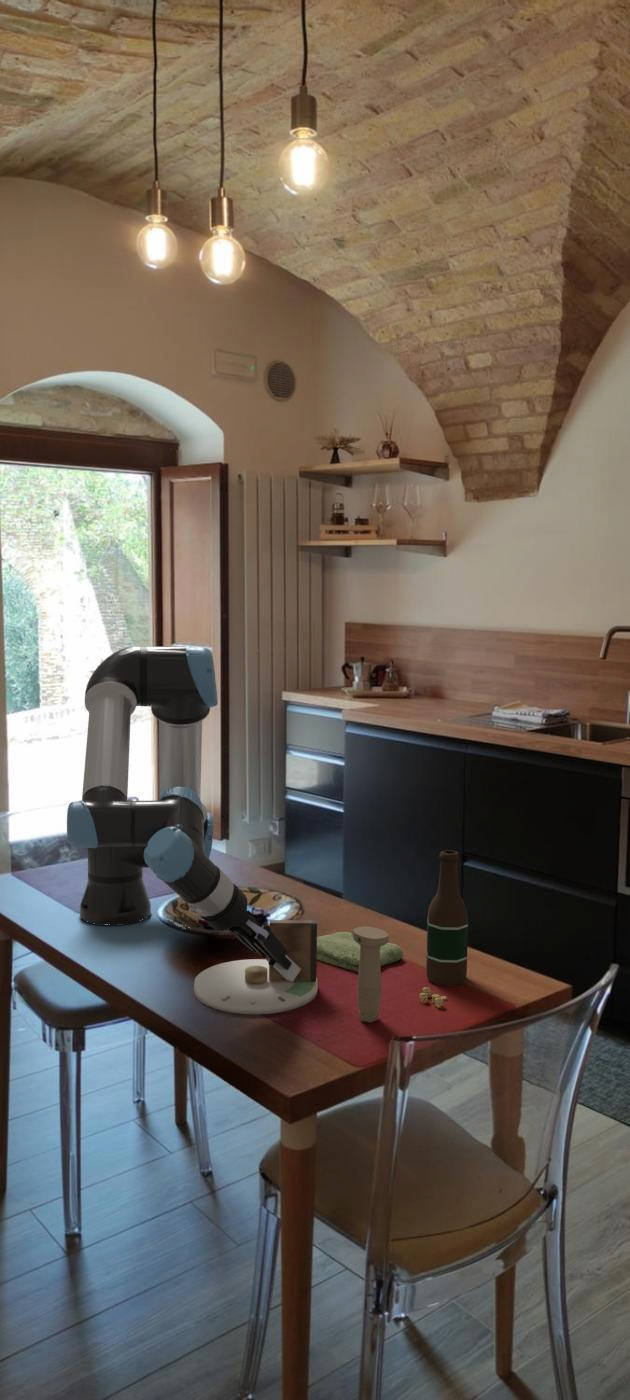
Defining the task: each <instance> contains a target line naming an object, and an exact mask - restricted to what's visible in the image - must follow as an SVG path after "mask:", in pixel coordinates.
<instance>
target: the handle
mask: <svg viewBox="0 0 630 1400" xmlns="http://www.w3.org/2000/svg"><path fill="white" fill-rule="evenodd" d="M352 934H353V938H354V940H355V941H356V942H357V943H358V944H359V945H360V962H359V972H358V976H357V977H358V978H357V1006H358V1015H359V1016H358V1017H359V1019H360V1021H361V1022H362V1023H365V1022H366V1023H370V1024H371V1023H373V1022H377V1021H378V1019H379V1013H378V1012H379V1010H380V1006H381V998H382V975H381V974H382V973H381V972H382V971H381V970H382V969H381V967H380V947H381V946H383V945H385V944H387V943H389V937H390V935H389V934H388V932H387V931H385V930H383V929H382V928H381V929H380V928H378V927H374V926H367V925H366V926H359V927H355V928H353V929H352Z"/></svg>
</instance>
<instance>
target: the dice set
mask: <svg viewBox="0 0 630 1400" xmlns="http://www.w3.org/2000/svg"><path fill="white" fill-rule="evenodd" d="M431 993H432V988H431V987H422V992H421V993H419V1001H421V1002H426V1001H427V1002H428V996H430V995H431ZM431 997H432V999H431V1001H432V1002H435V1004H434V1007H435V1006H437V1007H442V1006H443V1007H444V1000H443V999H446V998H447V999H448V997H447V996H445V995H441V996H440V994H436V993H433V994H432V995H431V996H430V998H431ZM432 1002H431V1003H432Z"/></svg>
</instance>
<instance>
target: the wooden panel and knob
mask: <svg viewBox="0 0 630 1400" xmlns="http://www.w3.org/2000/svg"><path fill="white" fill-rule="evenodd" d="M269 927H270V928H271V931H272V933H273V934H274V935H275V936H276V938H277V939H278V940H279V941H280V942H281V944H282V945H283V946H284V947H285V948H286V949H287V951H288V952H287V954H286V955H287V956H288V957H289V958H290V959H291V960H292V961H293V962H294V963H295V964H296V965H297V966H298V967H299V968H300V969H301V970H300V972H299V973H298V975H297V976H296V978H295V979H294V981H316V978H317V966H318V965H317V962H318V960H317V937H318V919H306V920H305V919H301V920H300V919H289V920H288V919H270V920H269ZM245 981H246V982H248V983H252V984H260V983H264V982H266V981H267V968H265V967H263V966H250V967H247V968H246V969H245ZM269 981H289V980H286V979H285V978H284V977H283V976H282V975H281V974H280V973H279V972H278V971H277V970H276V969H275V968H274V967H273V966H271V965H269Z"/></svg>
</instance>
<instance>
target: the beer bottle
mask: <svg viewBox="0 0 630 1400" xmlns="http://www.w3.org/2000/svg"><path fill="white" fill-rule="evenodd" d="M439 859H440V866H439V867H440V868H439V881H438V888H437V891H436V894H435V896H434V897H433V898H432V899H431V901H430V904H429V906H428V910H427V911H428V912H427V918H426V919H427V921H426V922H427V923H426V954H425V955H426V957H425V958H426V959H425V960H426V962H425V966H426V969H425V970H426V973H425V974H426V977H427V981H428V982H430V981H431V982H430V983H432V982H433V983H432V984H435V983H436V984H435V985H438V984H439V985H438V986H442V985H456V986H459V985H461V984H464V983H465V982H466V981H467V973H468V946H469V945H468V942H469V914H468V910H467V908H466V907H467V906H466V904H465V901H464V900H463V899H462V896H461V895H460V886H459V884H460V883H459V880H460V879H459V860H460V859H461V858H460V854H459V852H458V851H456V850H452V849H449V850H448V849H445V850H442V851H440V853H439ZM463 982H464V983H463ZM458 984H459V985H458Z"/></svg>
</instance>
